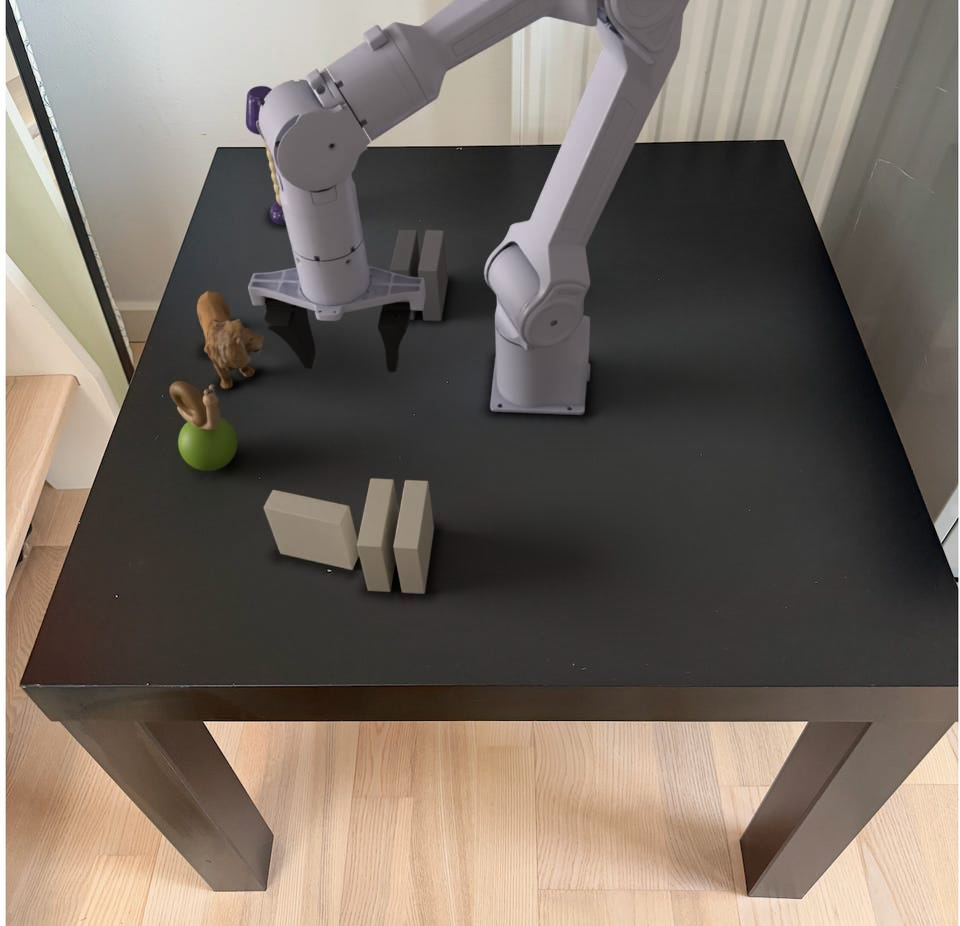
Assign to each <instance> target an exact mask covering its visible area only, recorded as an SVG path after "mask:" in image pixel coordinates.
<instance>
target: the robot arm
mask: <svg viewBox="0 0 960 926" xmlns="http://www.w3.org/2000/svg"><path fill="white" fill-rule="evenodd" d="M689 2H690V0H452V1H451V2H450V3H448V4H447V5H446V6H445V7H443V8H442V9H441V10H439V11H438V12H437V13H436V14H434V15H433V16H432V17H430V18H429V19H427V20H426V21H425V22H424V23H423V24H421V25H413V24H407V23H404V22H403V23H402V22H398V21H397V22H396V21H394V22H391V23H390V24H389V25H387V26H386V27H385V28H383V29H382V28H381V27H380V25H378V24H375V25H373V26H372V27H370V28H369V29H368V30H366V31H365V32H363V33H362V37H363V40H364V41H363V42H361V43H360V44H358V45H357V46H356V47H354V48H353V49H351V50H350V51H348V52H347V53H345V54H344V55H342V56H341V57H339V58H338V59H336V60H334V61H333V62H332V63H330V64H329V65H327V66H326V67H324V68H323V69H321V70H319V69H317V68H315V69H313V70H312V71H310V72H309V73H307V74H306V75H305V79H301V78H299V79H298V81H297V80H294V79H290V80H287V81H284V82H281V83H279V84H277V85H276V86H275V87H274V88H271V89H272V90H271V91H270V92H269V93H268V95H267V96H266V97H265V99H264V101H265V104H264V105H262V104H261V107H260V111H259V120H258V121H257V122H256V126H257V129H258V131H259V133H260V135H259V136H260V137H261V138H262V140H263V142H264V141H265V142H266V143H267V145H268V148H269V150H270V152H271V154H272V156H273V159H274V163H275V167H276V179H277V183H278V186H279V188H280V190H279V195H280V201H281V205H282V209H283V213H284V217H285V222H286V225H285V226H286V230H287V234H288V238H289V239H288V240H289V241H290V247H291V251H292V256H293V259H294V264H295V267H292V268H286V269H281V270H275V271H269V272H253V274H252V276H251V278H250V281H249V283H248V286H247V291H248V294H249V296H250V297H249V298H250V300H251V303H252V304H251V305H252V306H261V307H262V306H265V314H264V316H263V317H264V318H263V321H264V323H265V326H266V328H267V329H268V330H270V331H271V332H273V333H275V334H276V335H277V336H279V337H280V338H281V339H282V340H283V341H284V342H285V343H286V344H287V345H288V346H289V348H290V349H291V350H292V351H293V353H294V354H295V356H296V357H297V359H298V360H299V362H300V363H301V365H302V367H303V368H304V369H305V370H311V369H313V367H314V362H315V358H316V355H317V350H316V344H315V339H314V336H313V332H312V329H311V324H310V321H309V314H308V310H309V311H310V310H311V311H314V314H315V318H316V320H318V321H322V322H338V321H339V320H341V319H342V317H343V314H344V313H349V312H355V311H358V310H364V309H369V308H374V307H379V306H382V307H381V311H380V314H379V320H378V323H377V329H378V332H379V335H380V337H381V340H382V342H383V343H382V344H383V347H384V350H385V351H384V352H385V353H384V354H385V365H386V369H387V372H388V373H395V372H397V369H398V364H399V359H400V345H401V342H402V340H403V338H404V336H405V335H406V333H407V331H408V327H409V325H410V321H411V320H410V316H411V311H412V310H416V311H418V312H419V311H422V310H423V308H424V303H425V297H426V293H425V283H424V278H418V277H409V276H404V275H400V274H397V273H393V272H390V270H387V269H386V270H385V269H382V268H379V267H375V266H372V265H369V263H368V257H367V250H366V244H365V238H364V233H363V227H362V221H361V220H362V219H361V214H360V209H359V208H360V207H359V202H358V201H359V200H358V195H357V189H356V184H355V181H354V179H353V176H352V174H353V172H354V170H355V168H356V166H357V164H358V161H359V157H360V156H361V155H362V153H364V152H365V151H367V150H368V149H369V148H368V146H369V145H370V144H371V142H373V141H374V140H377V138H379V137H380V136H382V135H384V134H385V133H387V132H388V131H390V130H391V129H393V128H394V127H396V126H398V125H399V124H401V123H402V122H404V121H405V120H407V119H408V118H410V117H412V116H413V115H414V114H416V113H417V112H419V111H421V110H422V109H423V108H425V107H426V106H428V105H429V104H431V103H432V102H434V101H435V100H437V99H438V98H439V96H440V92H441V89H442V86H443V83H444V79H445V76H446V74H447V72H449V71H451V70H452V69H454V68H455V67H458V66H460V65H461V64H464V63H465V62H466V61H469V60H470V59H471V58H474V57H475V56H477V55H479V54H480V53H482V52H484V51H486V50H487V49H489V48H491V47H493V46H495V45H496V44H499V43H501V42H502V41H504V40H505V39H507V38H509V37H511V36H512V35H514V34H516V33H517V32H519V31H521V30H523V29H524V28H527V27H528V26H530V25H532V24H533V23H535V22H538V21H539V20H541V19H543V18H551V19H552V18H553V19H557V20H560V21H566V22H568V23H569V22H570V23H574V24H578V25H583V26H587V27H591V28H592V27H593V28H594V27H595V30H596V32H597V34H598V36H599V39H600V41H601V45H602V49H601V52H600V55H599V56H598V58H597V61H596V64H595V66H594V68H593V71H592V73H591V76H590V78H589V80H588V83H587V85H586V87H585V89H584V91H583V93H582V96H581V99H580V101H579V103H578V106H577V108H576V110H575V113H574V116H573V118H572V120H571V123H570V124H569V127H568V129H567V131H566V134H565V136H564V138H563V140H562V143H561V145H560V148H559V151H558V153H557V154H556V158H555V160H554V162H553V164H552V167H551V169H550V171H549V174H548V176H547V179H546V181H545V183H544V186H543V188H542V191H541V192H540V195H539V197H538V200H537V202H536V204H535V207H534V209H533V211H532V214H531V216H530V218H529V219H528V220H524V221H520V222H514V223H512V224H511V225H510V226H509V229H508V230H507V234H506V235H505V237H504V239H503V240H502V242H501V243H499V245H498V246H497V247H496V248H495V249H494V250H493V251H492V252H491V254H490V255H489V256H488V258H487V260H486V262H485V265H484V268H483V269H484V271H483V275H484V280H485V282H486V284H487V286H488V287H489V288H490V289H491V291H493V293H494V294H495V296H496V308H495V313H494V331H495V332H494V333H495V336H494V337H495V357H494V368H493V375H492V376H493V377H492V384H491V385H492V386H491V395H490V404H489V408H490V411H491V412H495V413H496V412H498V413H522V414H544V415H546V414H547V415H571V416H573V415H574V416H582V415H584V413H585V411H586V397H587V396H586V395H587V383H588V382H590V378H591V377H590V376H591V363H590V362H589V357H590V337H591V335H590V334H591V317H590V316H588V315H584V311H585V309H584V306H585V305H584V302H585V298H586V296H587V293H588V291H589V288H590V287H591V277H590V271H589V264H588V257H587V249H586V248H587V247H586V246H587V244H588V242H589V240H590V238H591V236H592V234H593V232H594V230H595V228H596V225H597V223H598V221H599V219H600V217H601V215H602V213H603V211H604V210H605V207H606V205H607V203H608V201H609V199H610V196H611V194H612V192H613V190H614V188H615V186H616V184H617V182H618V180H619V177H620V176H621V174H622V171H623V169H624V167H625V165H626V163H627V161H628V159H629V157H630V155H631V152H632V151H633V149H634V146H635V144H636V143H637V140H638V139H639V136H640V134H641V132H642V130H643V128H644V126H645V124H646V122H647V120H648V118H649V115H650V113H651V112H652V109H653V107H654V105H655V104H656V101H657V99H658V96H660V93H661V91H662V88H663V86H664V84H665V82H666V80H667V78H668V76H669V74H670V72H671V70H672V67H673V65H674V63H675V62H676V59H677V57H678V54H679V51H680V47H681V41H682V31H683V30H682V29H683V21H684V13H685V11H686V9H687V7H688V4H689Z"/></svg>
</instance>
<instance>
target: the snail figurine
mask: <svg viewBox="0 0 960 926" xmlns="http://www.w3.org/2000/svg"><path fill="white" fill-rule="evenodd" d="M215 390H216V385H215V384H210V385H209V386H208V388H206V389H204V391H203V393H201V392H200V391H199V390H198V389H197V388H196V387H195V386H193V385H192V384H190V383H188V382H187V381H182V380H176V381H174V382H173V383H171V385H170V387H169V395H170V397H171V399H172V400H173V402H174V403H175V405H176V406H177V407H176V408H177V411H178V413H179V414H180V415H181V417H182V418H183V419H184V420H185V421H186V423H184V424H183V427H181V429H180V430H179V434H178V439H177V446H178V450H179V453H180V456H181V457H182V459H183V461H184V462H185V463H187V464H188V465H189V466H191V467H192V468H193V469H196V470H199V471H203V472H212V471H217V470H220V469H223V468H224V467H225V466H227V465H228V464H229V463H231V461H232V460H233V459H234V457H235V455H236V453H237V449H238V437H237V433H236V431H235V429H234V427H233V425H231V423H230V422H229V421H228V420H226V419H225V418H224V417H221V410H220V405H219V403H220V400H219V397H218V396H217V395H216V392H215ZM211 391H213V392H211ZM203 394H204V395H203Z"/></svg>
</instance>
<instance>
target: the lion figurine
mask: <svg viewBox="0 0 960 926" xmlns="http://www.w3.org/2000/svg"><path fill="white" fill-rule="evenodd" d="M196 304H197V305H196V313H197V317H198V321H199V324H200V326H201V329H202V331H203V335H204V338H205V346H204V349H203V351H204V353H205V354H207V356H208V358H210V360H211V362H212V365H213V366H214V368H215V370H216V372H217V374H218V376H219V377H220V379H221V381H220V386H221V389H225V390H229V389H230V388H232V387H233V385H234V383H233V378H232V377H231V375H230V374H229V372H233V371H236V370H239V372H240V373H241V374H242V375H243V376H244V377H246V378H251V377H253V376H254V374H255V372H256V369H255V368H254V367H251V366H250V365H249V363H250V362H251V360H252V356H253V355H252V354H253V353H254V354H260V353H261V351H262V347H263V345H264V341H265V336H264V335H261V334H256V333H253V332H252V331H251V329H249V328H247V327H244V325H243V324H242V322H241V319H240V318H238V319H235V320H231V317H232V314H231V310H230V309H231V308H230V307H229V304H228V303H227V300H226V299H225V298H224V297H223V295H222V294H221V293H220V292H218V291H211V290H207V291H205V292H204V293H203V294H201V295H200V297H199V298H198V299H197V303H196Z"/></svg>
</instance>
